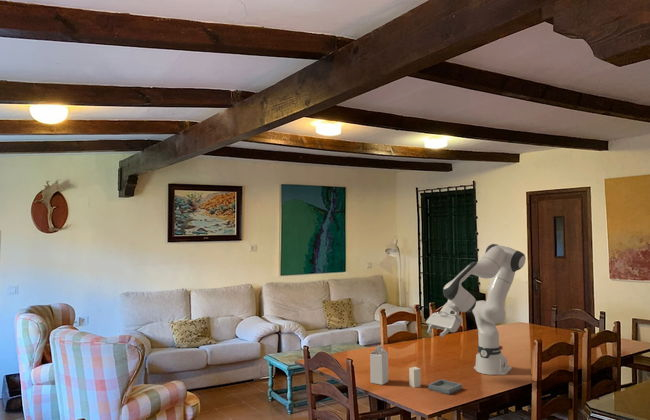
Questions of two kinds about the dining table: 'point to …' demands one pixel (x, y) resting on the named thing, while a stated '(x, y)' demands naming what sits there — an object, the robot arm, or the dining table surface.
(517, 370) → the dining table surface
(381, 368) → the milk carton
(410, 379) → the cream block
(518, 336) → the dining table surface
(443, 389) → the grey tray
